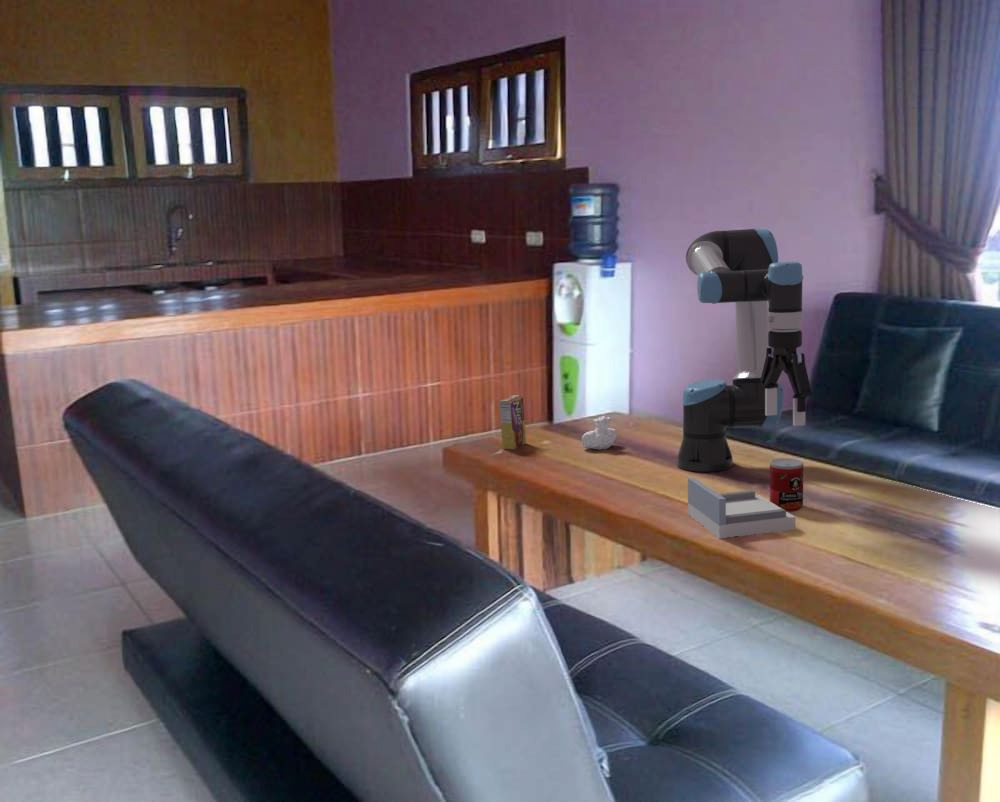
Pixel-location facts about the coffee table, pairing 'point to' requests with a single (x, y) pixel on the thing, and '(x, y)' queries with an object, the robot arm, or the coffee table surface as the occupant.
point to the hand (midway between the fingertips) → (784, 420)
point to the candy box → (512, 422)
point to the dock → (735, 512)
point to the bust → (600, 435)
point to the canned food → (786, 483)
